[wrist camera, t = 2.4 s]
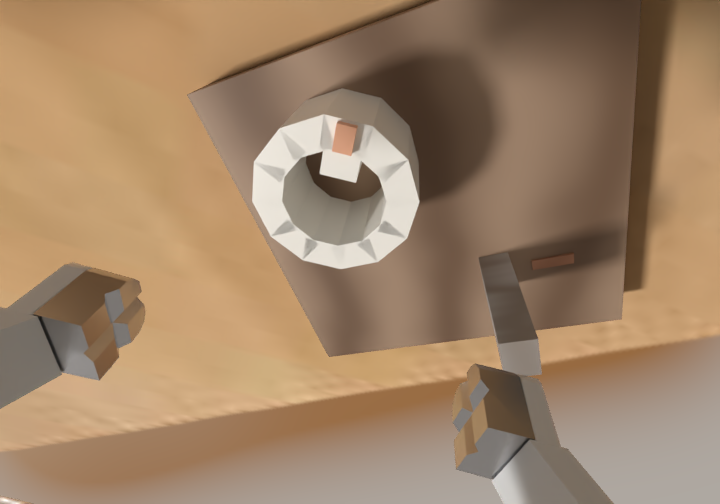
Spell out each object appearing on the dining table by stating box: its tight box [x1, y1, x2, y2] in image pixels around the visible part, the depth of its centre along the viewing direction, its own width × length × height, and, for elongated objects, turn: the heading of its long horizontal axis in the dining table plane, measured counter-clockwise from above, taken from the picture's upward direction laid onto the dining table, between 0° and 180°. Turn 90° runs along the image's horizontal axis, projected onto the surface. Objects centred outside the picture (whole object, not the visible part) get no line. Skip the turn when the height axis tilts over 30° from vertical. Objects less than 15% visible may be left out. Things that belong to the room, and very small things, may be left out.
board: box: [187, 0, 641, 376], centre depth 18 cm, size 18×18×8 cm
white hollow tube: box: [252, 88, 420, 269], centre depth 16 cm, size 6×6×4 cm
